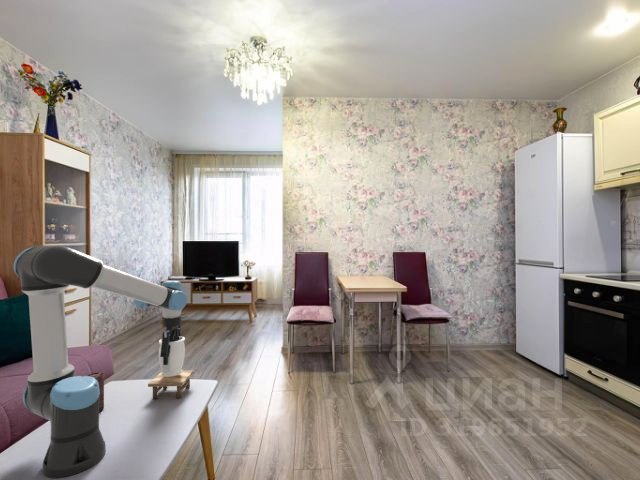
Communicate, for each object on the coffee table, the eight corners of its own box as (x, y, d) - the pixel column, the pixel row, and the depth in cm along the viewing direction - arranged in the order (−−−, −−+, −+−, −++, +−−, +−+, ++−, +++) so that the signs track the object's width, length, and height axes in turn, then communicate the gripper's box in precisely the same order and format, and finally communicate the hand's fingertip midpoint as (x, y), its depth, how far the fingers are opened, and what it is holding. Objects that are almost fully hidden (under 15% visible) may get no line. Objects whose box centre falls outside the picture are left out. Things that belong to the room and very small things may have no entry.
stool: (182, 400, 136) (182, 383, 136) (147, 400, 135) (147, 384, 135) (193, 385, 150) (193, 370, 150) (162, 386, 149) (162, 370, 149)
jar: (176, 367, 150) (177, 334, 150) (189, 372, 144) (189, 338, 144) (153, 374, 141) (154, 340, 141) (166, 380, 135) (166, 344, 135)
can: (108, 407, 130) (108, 371, 130) (95, 415, 124) (95, 378, 124) (94, 406, 131) (94, 371, 131) (80, 414, 124) (81, 377, 124)
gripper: (170, 322, 132) (169, 377, 131) (189, 310, 154) (189, 357, 154) (151, 322, 131) (150, 377, 131) (173, 311, 154) (173, 358, 154)
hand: (171, 366), depth 142 cm, fingers closed on jar, 10 cm apart
